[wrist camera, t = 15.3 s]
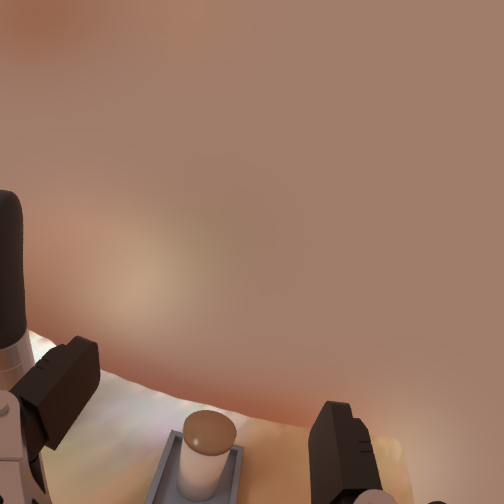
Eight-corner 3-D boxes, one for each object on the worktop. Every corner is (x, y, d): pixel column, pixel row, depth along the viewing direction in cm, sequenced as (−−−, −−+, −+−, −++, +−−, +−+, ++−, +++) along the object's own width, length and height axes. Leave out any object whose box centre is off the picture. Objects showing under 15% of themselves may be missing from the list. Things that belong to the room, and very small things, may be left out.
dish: (140, 521, 24) (139, 516, 23) (171, 437, 39) (171, 429, 38) (228, 543, 24) (230, 539, 23) (241, 454, 39) (243, 447, 38)
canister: (171, 496, 29) (177, 441, 24) (181, 467, 33) (190, 404, 29) (212, 507, 28) (232, 455, 24) (218, 476, 33) (239, 417, 29)
